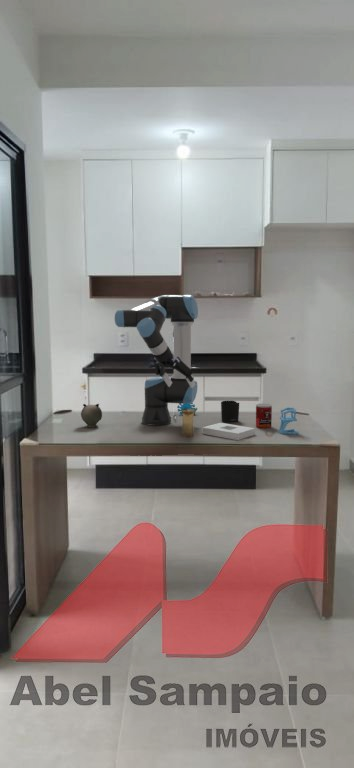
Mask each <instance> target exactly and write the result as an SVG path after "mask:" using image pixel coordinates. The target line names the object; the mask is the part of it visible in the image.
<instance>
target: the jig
mask: <svg viewBox="0 0 354 768" xmlns="http://www.w3.org/2000/svg"><path fill="white" fill-rule="evenodd" d="M202 434H203V435H208V436H214V437H218V438H225V439H229V440H236V441H239V440H242V439H246V438H249V437H251V436H252V437H253V436H255V435H256V428H255V427H250V426H244V425H238V424H237V425H236V424H233V423H232V424H231V423H227V422H218V423H214V424H211V425H207V426H203V427H202Z"/></svg>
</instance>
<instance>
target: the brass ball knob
mask: <svg viewBox="0 0 354 768" xmlns="http://www.w3.org/2000/svg"><path fill="white" fill-rule="evenodd" d="M181 412H183V413H182V437H193V436H194V413H193V412H195V410H194V409H182V411H181ZM195 413H196V412H195Z"/></svg>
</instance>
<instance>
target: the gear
mask: <svg viewBox="0 0 354 768" xmlns="http://www.w3.org/2000/svg"><path fill="white" fill-rule="evenodd" d="M182 409H194V410H195V412H193V415H196V412H197V411H198V407H196V405H195V403H194V401H193V402H192V403H191V404H182V403H178V405H177V412H178V413H179V414H180V415H183V412H182Z"/></svg>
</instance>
